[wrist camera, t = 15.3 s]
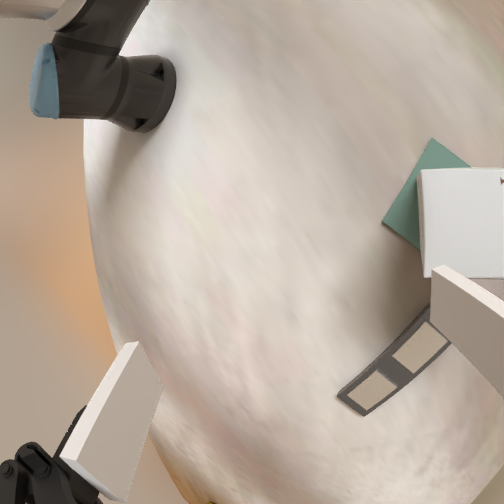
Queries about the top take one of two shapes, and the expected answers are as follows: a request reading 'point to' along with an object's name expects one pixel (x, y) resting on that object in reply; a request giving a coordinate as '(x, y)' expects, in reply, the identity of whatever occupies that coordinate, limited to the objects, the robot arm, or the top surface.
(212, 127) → the top surface
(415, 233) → the mat
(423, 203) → the supplement box
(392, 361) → the label plate
